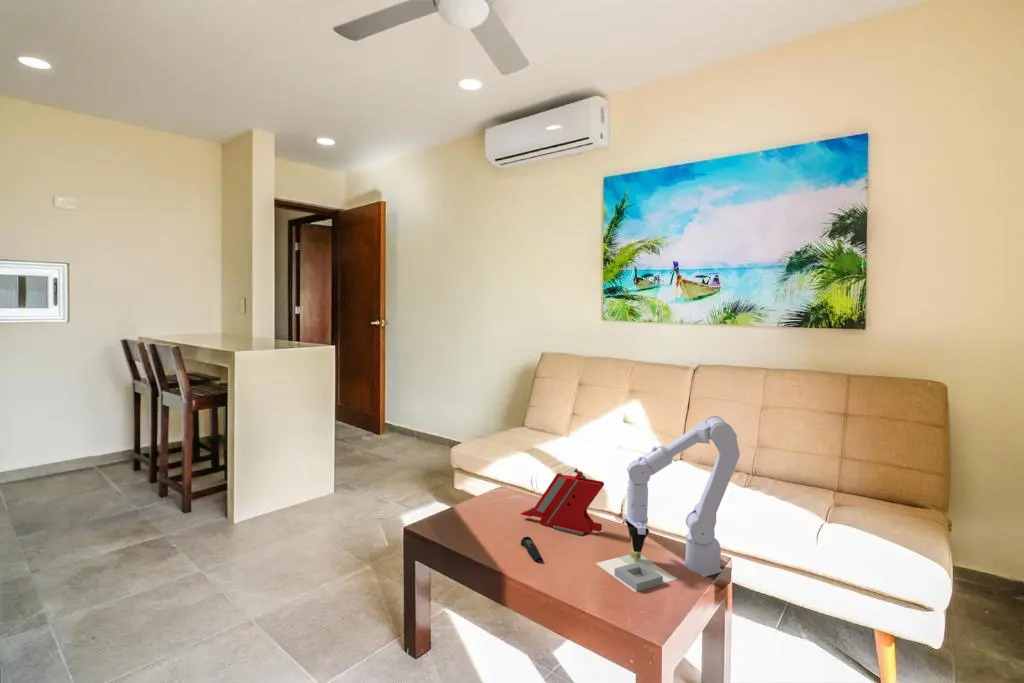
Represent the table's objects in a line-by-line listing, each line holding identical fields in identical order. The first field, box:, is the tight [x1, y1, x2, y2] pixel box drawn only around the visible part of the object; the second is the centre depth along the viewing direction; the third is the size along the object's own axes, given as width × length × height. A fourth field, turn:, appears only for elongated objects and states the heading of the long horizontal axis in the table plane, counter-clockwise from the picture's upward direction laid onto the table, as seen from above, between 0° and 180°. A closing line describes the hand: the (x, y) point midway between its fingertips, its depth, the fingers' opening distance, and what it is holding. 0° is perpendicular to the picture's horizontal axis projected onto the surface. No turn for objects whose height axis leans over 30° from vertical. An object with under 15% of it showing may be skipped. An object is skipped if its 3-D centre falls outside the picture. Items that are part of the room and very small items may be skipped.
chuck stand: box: [595, 553, 678, 593], centre depth 146 cm, size 15×17×3 cm
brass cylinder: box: [629, 537, 642, 559], centre depth 152 cm, size 3×3×7 cm
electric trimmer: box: [520, 536, 543, 563], centre depth 158 cm, size 4×15×3 cm, turn 13°
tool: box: [520, 467, 605, 537], centre depth 175 cm, size 27×6×27 cm, turn 65°
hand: (636, 548), depth 152 cm, fingers closed on brass cylinder, 3 cm apart
